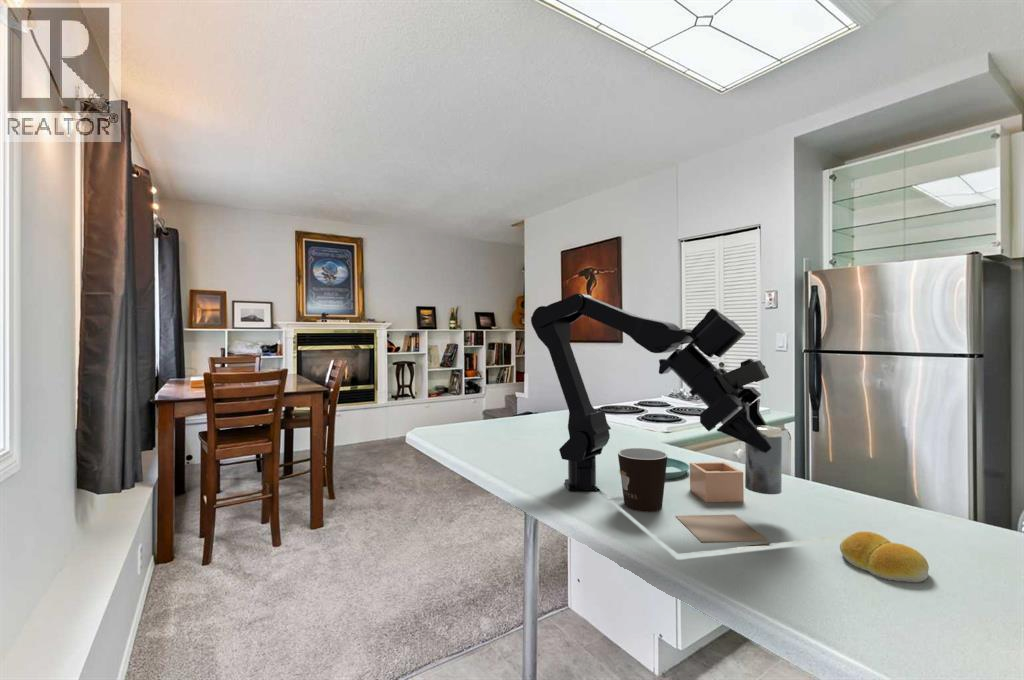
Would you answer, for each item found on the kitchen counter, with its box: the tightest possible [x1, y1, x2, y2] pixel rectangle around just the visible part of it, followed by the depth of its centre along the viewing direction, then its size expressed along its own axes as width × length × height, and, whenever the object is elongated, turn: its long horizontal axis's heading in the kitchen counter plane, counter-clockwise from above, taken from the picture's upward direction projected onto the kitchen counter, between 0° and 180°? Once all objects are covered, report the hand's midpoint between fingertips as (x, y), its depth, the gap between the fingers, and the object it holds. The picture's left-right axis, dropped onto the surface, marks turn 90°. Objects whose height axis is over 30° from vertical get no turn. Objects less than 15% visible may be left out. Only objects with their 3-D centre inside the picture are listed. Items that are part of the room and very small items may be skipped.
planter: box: [689, 461, 745, 503], centre depth 87 cm, size 7×7×6 cm
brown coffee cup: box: [617, 447, 668, 513], centre depth 84 cm, size 12×9×10 cm
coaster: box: [675, 514, 770, 547], centre depth 72 cm, size 10×10×1 cm
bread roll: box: [839, 531, 930, 583], centre depth 61 cm, size 8×9×4 cm
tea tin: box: [744, 425, 783, 495], centre depth 75 cm, size 5×5×10 cm
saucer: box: [665, 457, 690, 480], centre depth 104 cm, size 15×15×3 cm
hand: (772, 446), depth 74 cm, fingers closed on tea tin, 5 cm apart
